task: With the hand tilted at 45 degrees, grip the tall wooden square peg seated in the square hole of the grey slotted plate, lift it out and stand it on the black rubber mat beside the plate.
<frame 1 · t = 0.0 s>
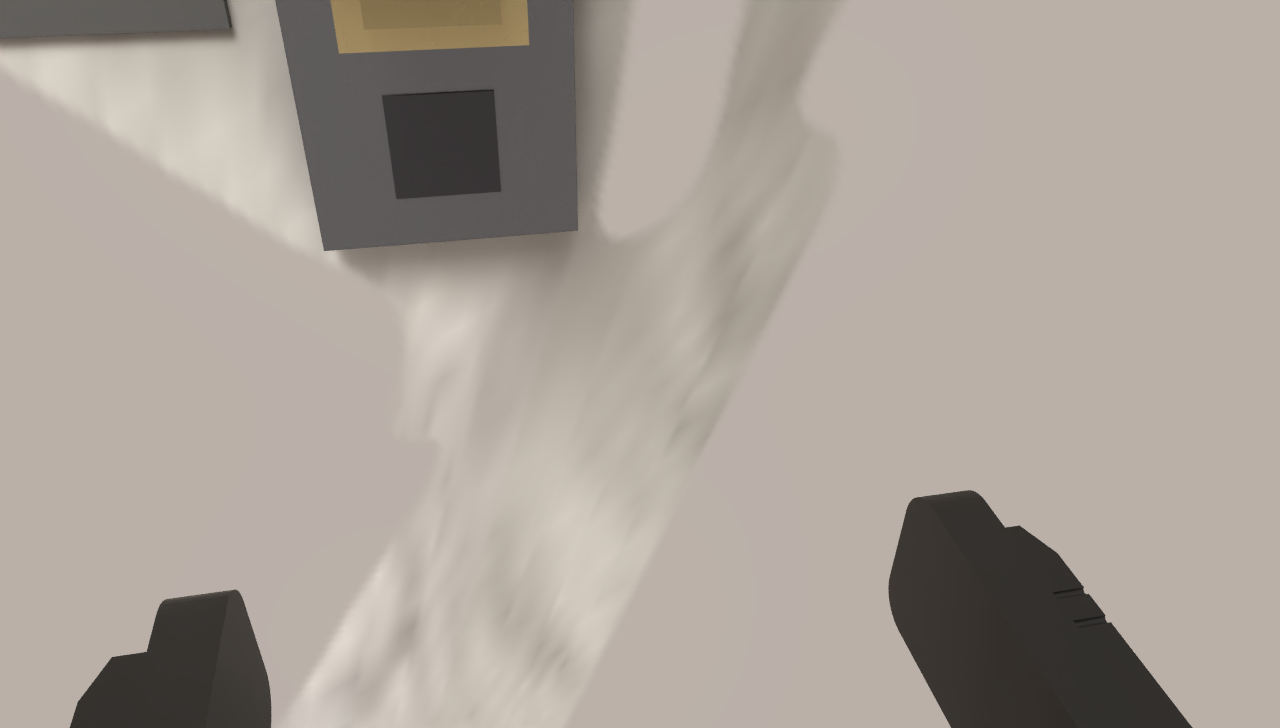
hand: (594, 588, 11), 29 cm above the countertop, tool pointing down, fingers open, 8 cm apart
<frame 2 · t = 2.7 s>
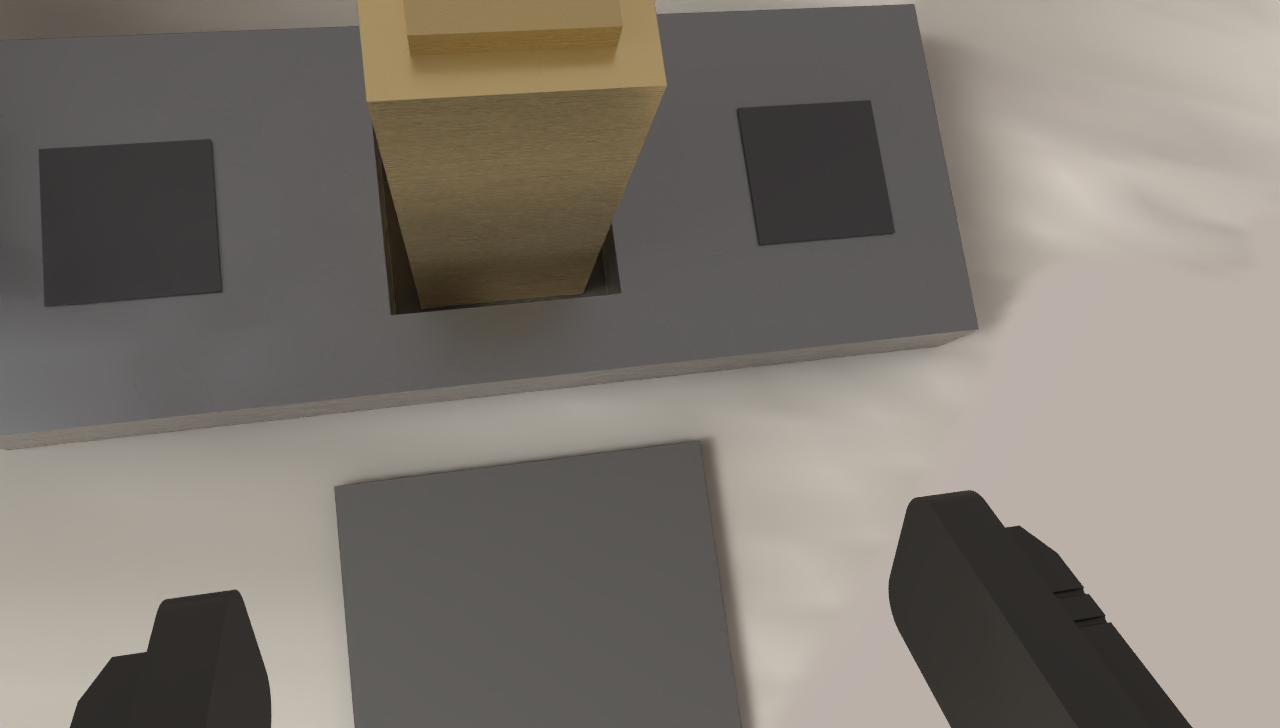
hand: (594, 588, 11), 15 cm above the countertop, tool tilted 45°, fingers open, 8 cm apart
rubber mat: (544, 648, 26), on the countertop
grey slotted plate: (494, 224, 27), on the countertop
wooden square peg: (498, 124, 21), in the grey slotted plate
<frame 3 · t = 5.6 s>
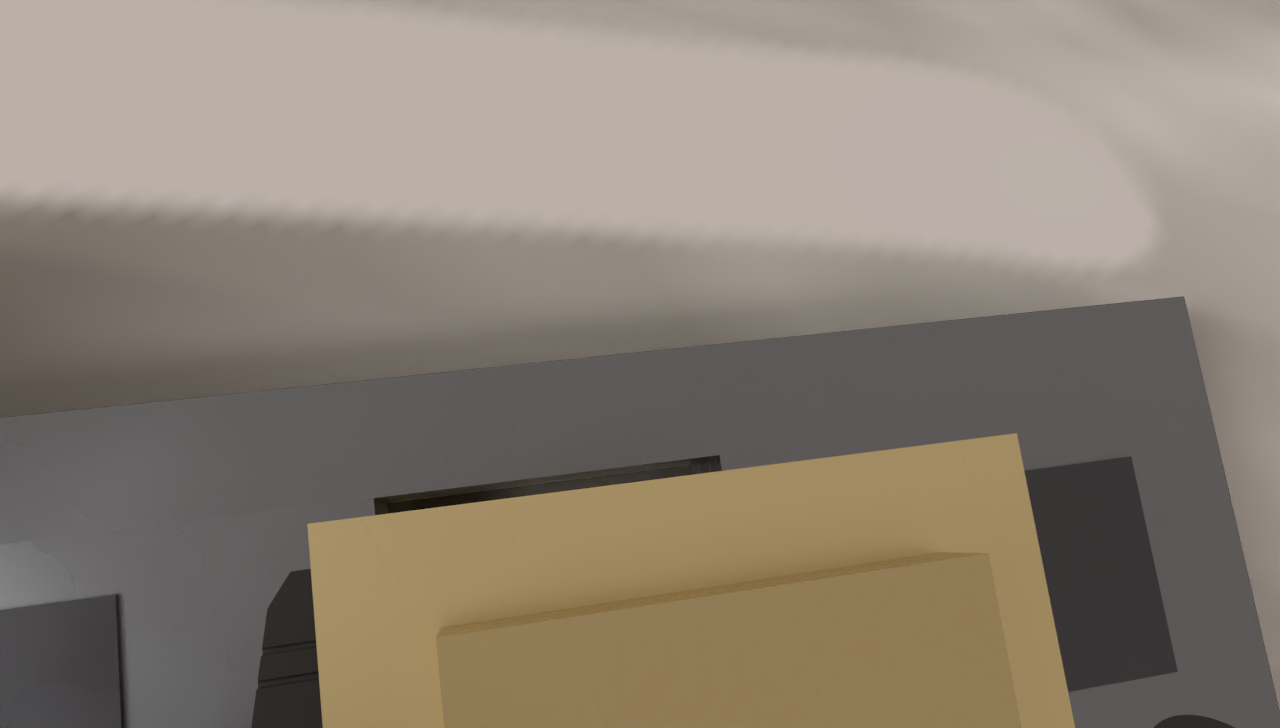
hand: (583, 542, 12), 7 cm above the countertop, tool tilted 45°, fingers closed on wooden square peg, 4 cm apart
grey slotted plate: (561, 639, 18), on the countertop
wooden square peg: (606, 696, 12), in the grey slotted plate, touching gripper
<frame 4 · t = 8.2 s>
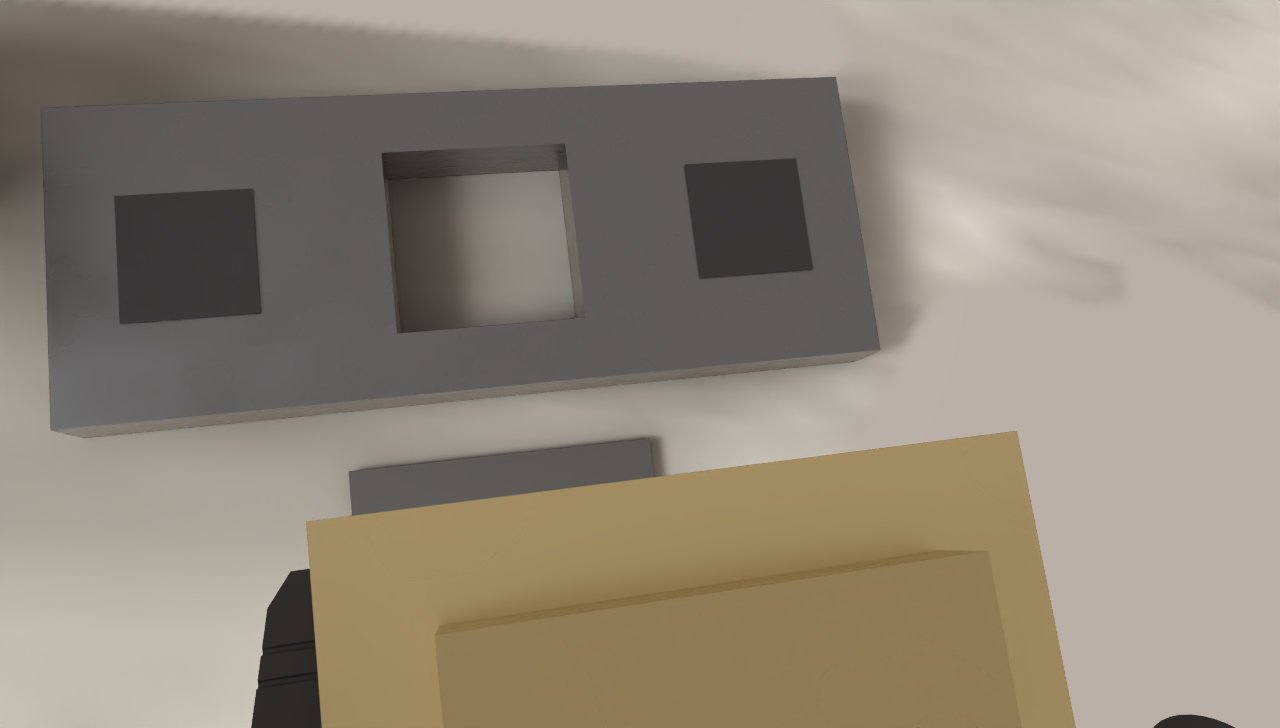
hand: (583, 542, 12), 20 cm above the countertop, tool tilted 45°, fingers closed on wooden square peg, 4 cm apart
rubber mat: (518, 605, 31), on the countertop
grey slotted plate: (483, 256, 33), on the countertop
wooden square peg: (606, 695, 12), point 20 cm above the countertop, touching gripper
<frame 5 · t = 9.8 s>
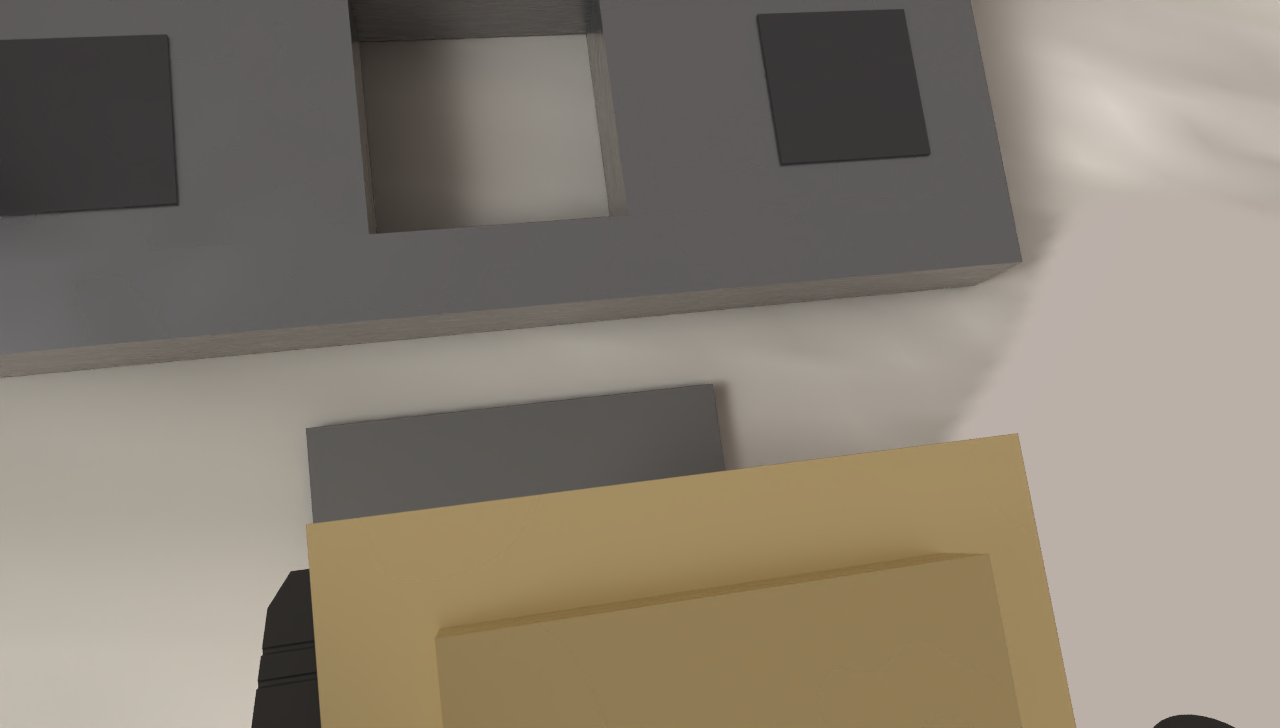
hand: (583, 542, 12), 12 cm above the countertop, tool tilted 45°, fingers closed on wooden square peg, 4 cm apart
rubber mat: (539, 610, 23), on the countertop
grey slotted plate: (487, 143, 25), on the countertop
wooden square peg: (606, 696, 12), point 12 cm above the countertop, touching gripper
when the fingers open (8 cm above the countertop, at t = 10.9 s): wooden square peg drops 1 cm, resting on rubber mat.
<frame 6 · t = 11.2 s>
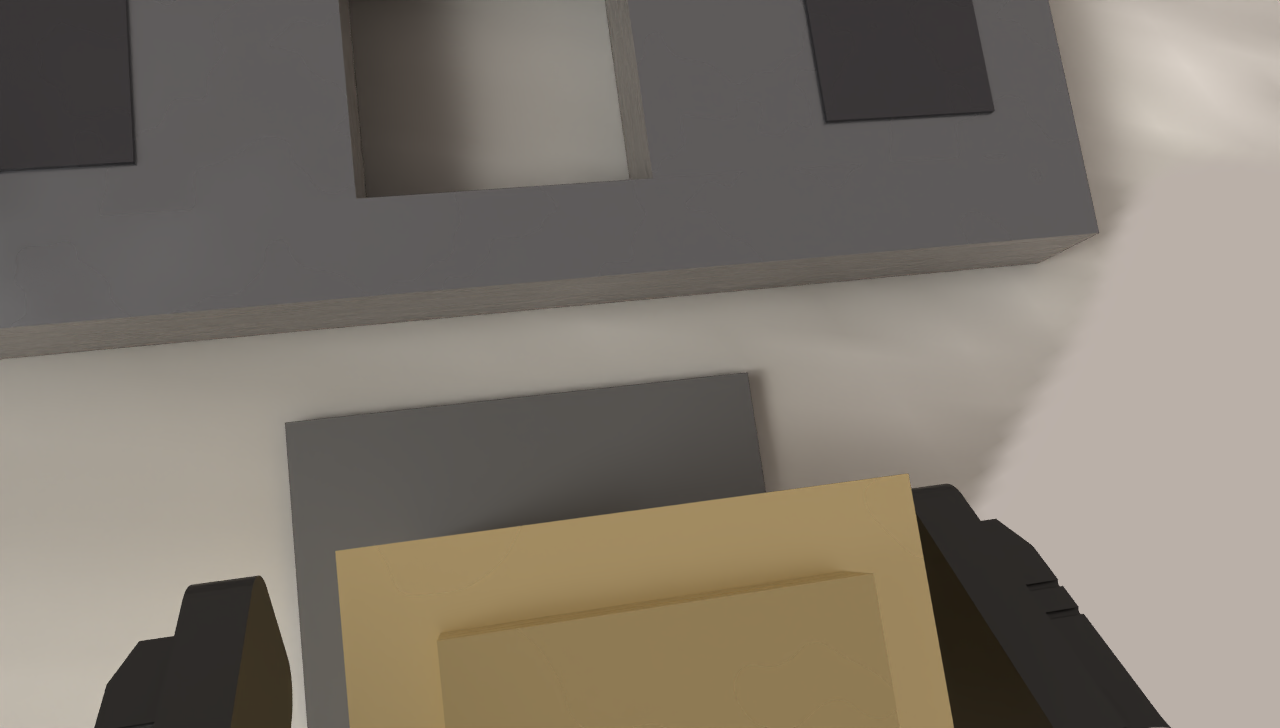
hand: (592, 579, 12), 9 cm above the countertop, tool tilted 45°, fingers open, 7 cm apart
rubber mat: (552, 630, 20), on the countertop
grey slotted plate: (491, 102, 22), on the countertop
wooden square peg: (588, 690, 13), on the rubber mat
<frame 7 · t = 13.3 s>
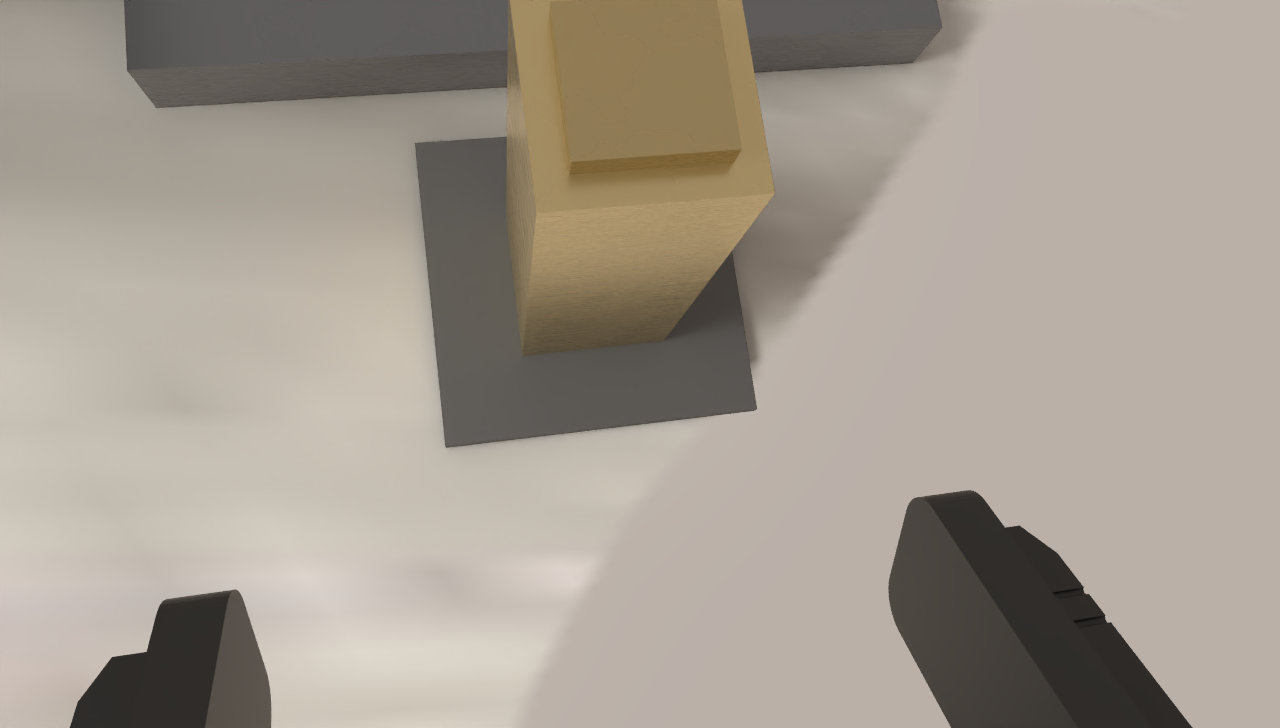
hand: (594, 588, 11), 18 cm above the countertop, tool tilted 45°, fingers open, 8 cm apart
rubber mat: (584, 279, 31), on the countertop
wooden square peg: (607, 205, 24), on the rubber mat
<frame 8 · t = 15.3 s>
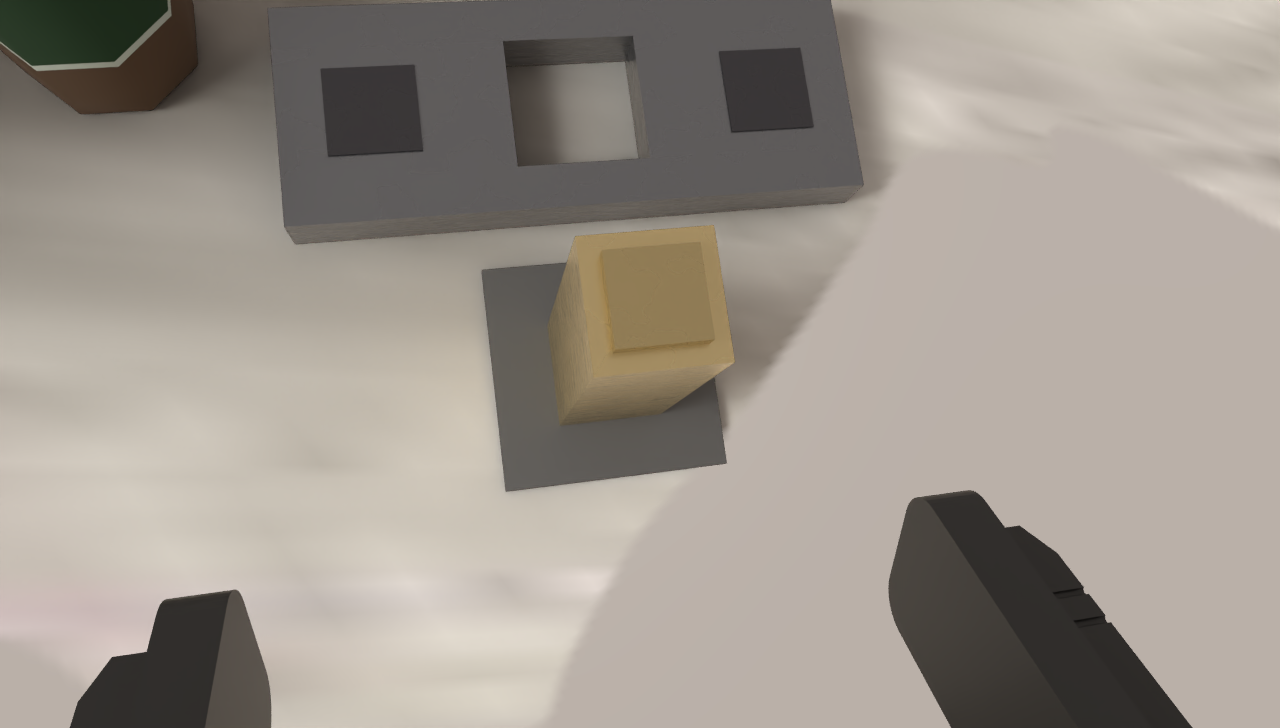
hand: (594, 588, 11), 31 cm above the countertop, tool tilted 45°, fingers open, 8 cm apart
rubber mat: (603, 368, 43), on the countertop
grey slotted plate: (571, 122, 45), on the countertop
wooden square peg: (626, 339, 36), on the rubber mat
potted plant: (116, 44, 43), on the countertop
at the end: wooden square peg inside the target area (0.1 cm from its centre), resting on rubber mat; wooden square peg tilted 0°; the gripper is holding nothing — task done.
